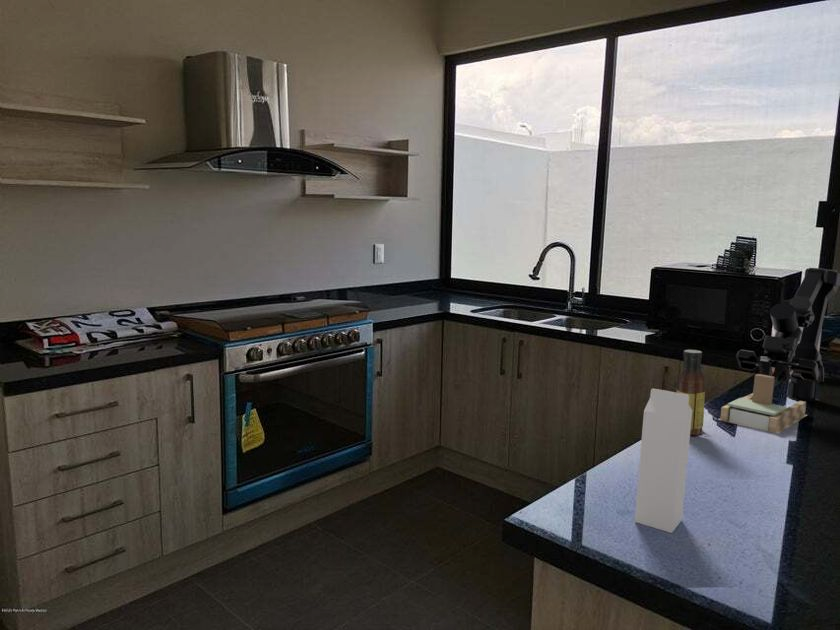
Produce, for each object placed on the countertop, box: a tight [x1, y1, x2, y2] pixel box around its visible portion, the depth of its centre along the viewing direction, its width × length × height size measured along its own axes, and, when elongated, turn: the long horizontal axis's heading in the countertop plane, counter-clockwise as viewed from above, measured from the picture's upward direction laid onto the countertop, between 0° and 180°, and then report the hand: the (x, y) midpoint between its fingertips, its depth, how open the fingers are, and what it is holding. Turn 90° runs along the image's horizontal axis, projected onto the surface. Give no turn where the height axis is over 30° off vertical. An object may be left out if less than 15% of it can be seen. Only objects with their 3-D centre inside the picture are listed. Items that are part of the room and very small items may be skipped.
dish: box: [729, 407, 773, 430], centre depth 159 cm, size 9×9×3 cm
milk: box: [634, 388, 692, 534], centre depth 103 cm, size 6×6×22 cm
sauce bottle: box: [676, 349, 706, 436], centre depth 150 cm, size 6×6×20 cm
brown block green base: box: [727, 373, 787, 416], centre depth 159 cm, size 9×11×8 cm
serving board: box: [717, 392, 808, 435], centre depth 164 cm, size 24×14×4 cm, turn 134°
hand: (766, 390), depth 163 cm, fingers closed
